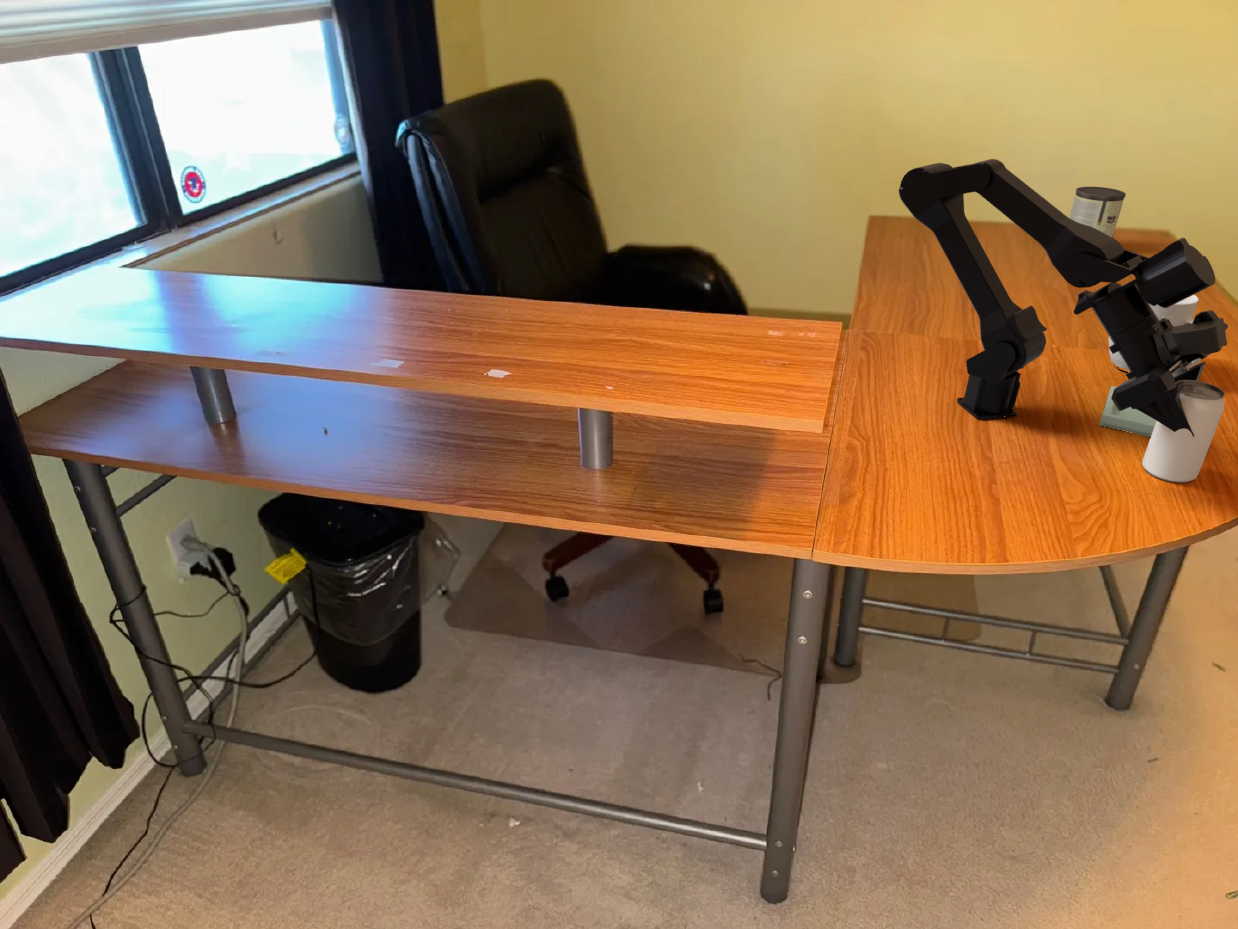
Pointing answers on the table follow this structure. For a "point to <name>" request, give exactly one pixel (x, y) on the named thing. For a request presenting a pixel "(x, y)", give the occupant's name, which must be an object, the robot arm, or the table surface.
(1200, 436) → the can
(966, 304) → the table surface
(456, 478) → the table surface
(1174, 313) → the mug
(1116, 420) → the tray
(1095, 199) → the coffee can
